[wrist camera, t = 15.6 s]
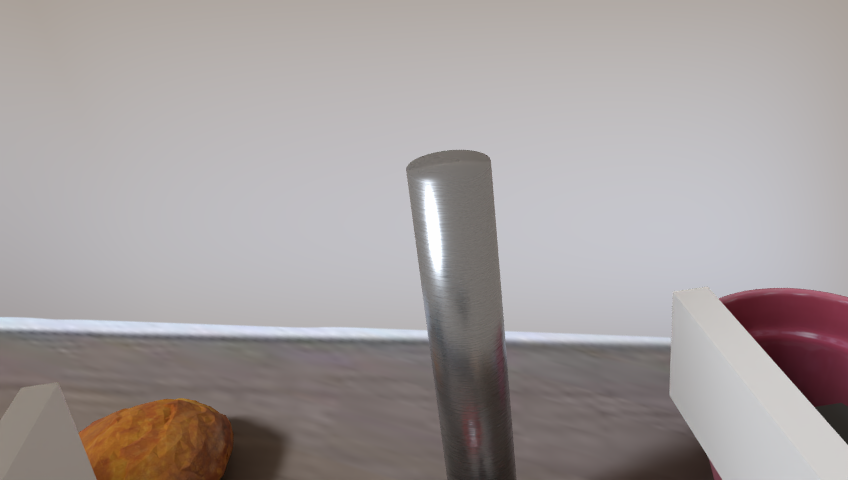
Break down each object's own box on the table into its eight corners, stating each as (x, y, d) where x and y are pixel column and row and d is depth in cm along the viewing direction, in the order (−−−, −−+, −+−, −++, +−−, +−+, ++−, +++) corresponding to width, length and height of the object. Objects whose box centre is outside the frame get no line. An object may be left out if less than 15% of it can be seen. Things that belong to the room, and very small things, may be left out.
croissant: (266, 456, 67) (254, 374, 64) (183, 589, 52) (163, 490, 50) (115, 449, 69) (98, 370, 67) (-4, 574, 55) (-32, 478, 52)
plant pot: (671, 421, 61) (676, 282, 56) (866, 431, 58) (891, 284, 52) (685, 567, 49) (693, 407, 43) (934, 590, 46) (977, 421, 40)
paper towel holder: (394, 871, 36) (277, 389, 24) (378, 532, 54) (307, 164, 42) (707, 818, 36) (748, 318, 24) (584, 499, 55) (573, 126, 43)
